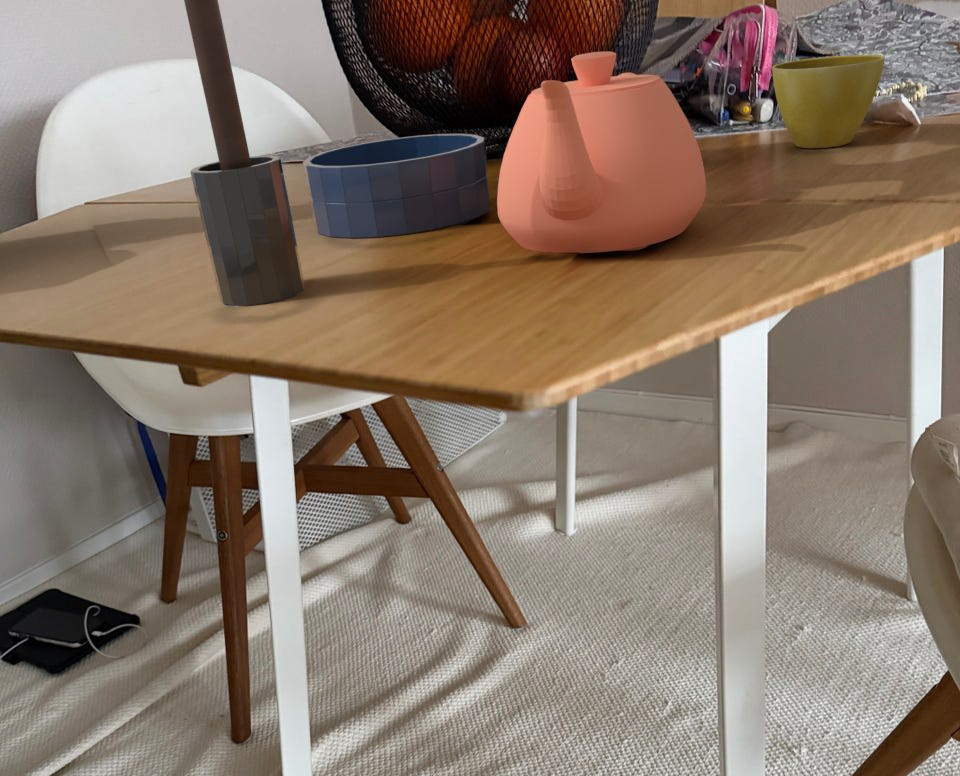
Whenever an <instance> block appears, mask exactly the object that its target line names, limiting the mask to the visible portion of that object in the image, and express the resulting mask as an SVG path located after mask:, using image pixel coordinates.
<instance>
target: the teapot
mask: <svg viewBox="0 0 960 776" xmlns="http://www.w3.org/2000/svg"><path fill="white" fill-rule="evenodd" d="M570 60H571V64H572V68H573V70H574V73H575V75H576V78H577V80H570V81H565V82H563V81H560V80H553V79H549V80H543V81H541V84H540V87H538V88H535V89H533V90H532V91H531V92H530V93H529V94H528V95H527V97H526V100H525V101H524V103H523V105H522V107H521V109H520V112H519V114H518V116H517V119H516V121H515V124H514V126H513V128H512V131H511V134H510V136H509V139H508V141H507V144H506V147H505V150H504V153H503V157H502V161H501V165H500V170H499V177H498V185H497V199H496V206H497V207H496V208H497V217H498V218H499V221H500V224H501V225H502V227H503V228H504V229H505V230H506V232H507V233H508V234H509V235H510V237H512V239H513V240H514V241H515V242H516V243H518V245H519V246H520V247H522V248H524V249H526V250H530V251H535V252H541V253H542V252H543V253H556V254H559V253H560V254H561V253H562V254H564V253H565V254H570V253H571V254H573V253H574V254H575V253H578V254H592V253H605V252H606V253H607V252H615V251H616V252H617V251H618V252H619V251H620V252H621V251H622V252H633V251H639V250H643V249H645V248H647V247H648V246H650V245H654V244H657V243H661V242H665V241H666V240H669V239H672V238H674V237H676V236H678V235H680V234H682V233H684V231H685V230H686V229H687V228H688V227H689V226H690V224H691V222H693V220H694V218H695V217H696V216H697V214H698V212H699V211H700V209H701V208H702V207H703V204H704V203H705V199H706V197H707V180H706V179H707V178H706V172H705V167H704V161H703V157H702V153H701V148H700V146H699V144H698V140H697V137H696V136H695V132H694V130H693V129H692V127H691V124H690V122H689V120H688V118H687V116H686V114H685V113H684V111H683V109H682V108H681V106H680V104H679V102H678V100H677V99H676V97H675V95H674V94H673V93H672V91H671V88H669V87H668V85H667V84H666V82H665V81H664V79H663V78H661V76H660V75H657V74H636V73H633V72H622V73H620V74H618V75H614V76H612V75H613V71H614V67H615V64H616V60H617V53H616V52H614V51H592V52H586V53H582V54H578V55H574V56H573V57H572V58H571V59H570Z"/></svg>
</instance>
